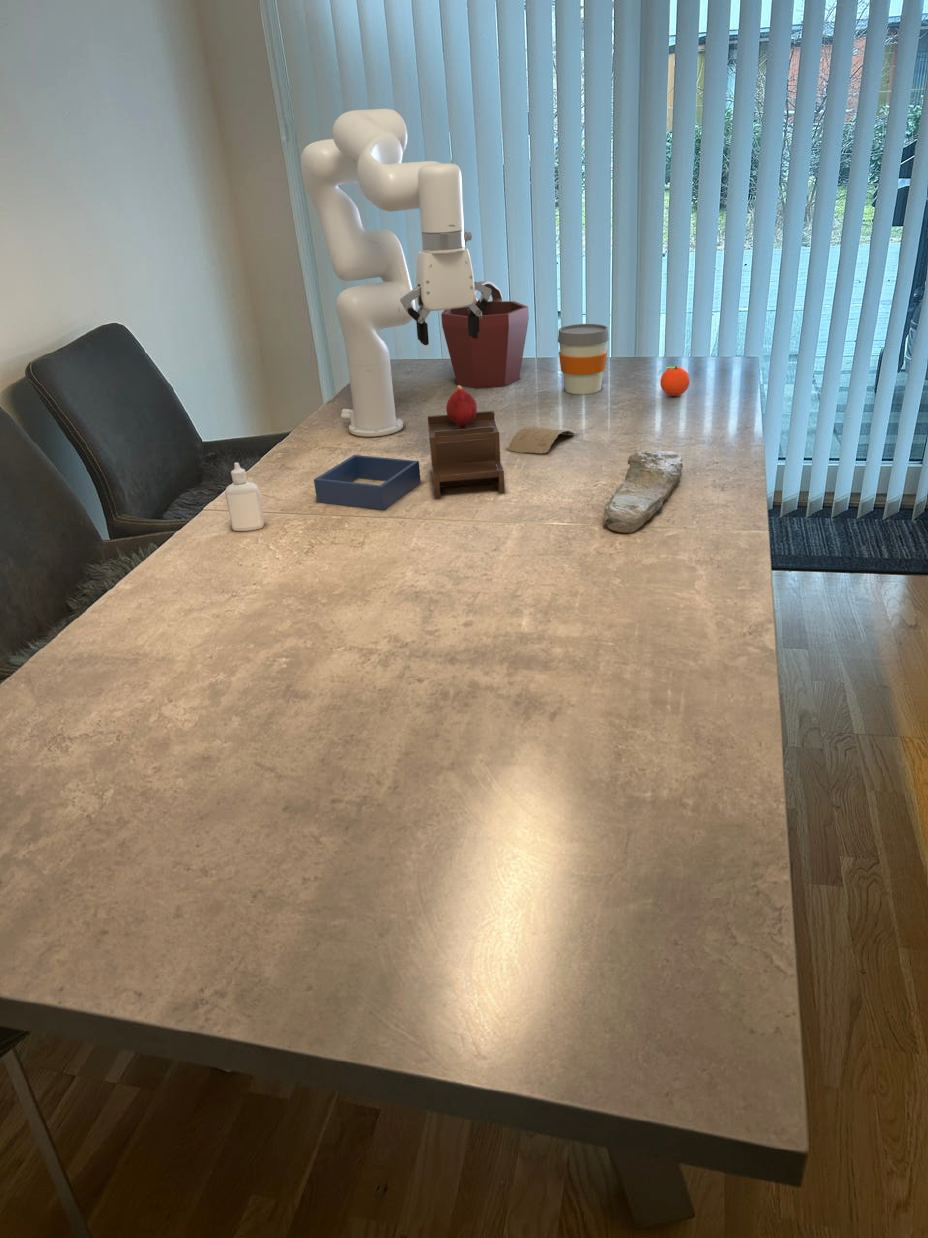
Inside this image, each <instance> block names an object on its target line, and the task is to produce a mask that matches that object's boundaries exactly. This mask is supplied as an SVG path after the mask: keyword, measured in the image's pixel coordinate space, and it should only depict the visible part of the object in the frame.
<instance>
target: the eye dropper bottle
mask: <svg viewBox="0 0 928 1238" xmlns="http://www.w3.org/2000/svg"><path fill="white" fill-rule="evenodd" d="M230 474H231V479H232V483H230V484H229V485H228V486H227V487H226V488H225V491H224V493H225V499H226V504H227V510H228V515H229V519H230V523H231V524H230V525H231V528H232V530H233V531H235V532H249V531H250V532H251V531H256V530H259V529H263V528H264V526H265V518H264V512H263V506H262V502H261V496H260V489H259V486H258V485H257V484H256V483H254V482H252V481H248V478H247V473H246V469H245V468H242V467H241V466H240V463H239V462H234V467H233V469H232V470H231V471H230Z"/></svg>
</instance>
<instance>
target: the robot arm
mask: <svg viewBox="0 0 928 1238" xmlns="http://www.w3.org/2000/svg"><path fill="white" fill-rule="evenodd" d="M408 139H409V138H408V129H407V125H406V122H405V120H404V118H403V117H402V115H401V114H399V113H398V111H396V110H395V109H392V108H375V109H373V108H372V109H354V110H349V111H345V112H344V113H342V114H341V115H339V116H338V117H337V118H336V119H335V122H334V123H333V127H332V138H328V139H320V140H317V141H314V142H311V143H310V144H307V146H305V147H304V149H303V150H302V152H301V156H300V172H301V177H302V178H301V179H302V182H303V185H304V188H305V191H306V193H307V195H308V198H309V199H310V202H311V203H312V205H313V207H314V209H315V211H316V213H317V215H318V218H319V221H320V225H321V229H322V234H323V236H324V241H325V245H326V249H327V253H328V256H329V260H330V263H331V267H332V270H333V272H334V275H335V276H336V277H337V278H338V279H339V280H341V281H345V282H352V281H361V280H367V279H375V278H381V280H382V282H376V283H375V282H374V283H366V284H360V285H355V286H354V285H353V286H351V287H348V288H346V289H343V290H342V291H341V292H340V293H339V294H338V296H337V298H336V301H335V309H336V315H337V318H338V322H339V325H340V329H341V332H342V336H343V342H344V346H345V354H346V360H347V361H346V363H347V367H348V376H349V377H348V378H349V384H350V391H351V401H352V409H351V408H342V410H341V414H340V418H341V420H344V421H345V420H346V421H347V420H349V421H350V423H349V426H348V431H349V433H350V434H352V435H353V436H356V437H364V438H372V437H374V438H375V437H381V436H382V437H383V436H388V435H391V434H395V433H397V432H399V431H401V430H402V429H403V428H404V421H403V420H402V419H400V418H399V417H397V416H396V415H397V414H396V408H395V407H396V406H395V395H394V385H393V376H392V367H391V357H390V351H389V348H388V345H387V344H386V343H385V341H384V340H383V338H381V337H380V335H379V334H378V333H377V332H378V331H379V330H380V331H381V330H383V329H389V328H394V327H399V326H404V325H407V324H409V323H411V322H412V321H413V320H414V321H415V322H416V323H415V324H416V335H417V336H416V337H417V340H418V341H420V343H421V344H422V345H423V346H429V344H430V341H429V339H430V338H429V327H428V322H426V319H427V318H428V316H429V315H430V313H431V312H438V311H444V310H447V309H455V308H463V307H466V308H467V309H468V310H469V311H470V314H468V333H469V336H471V337H472V338H474V339H476V338H478V333H479V316H480V315H481V312H482V310H483V309H484V308H485V307H486V305H487V301H489V300H490V297H491V292H492V290H491V289H490V288H488V287H486V286H484V285H481V284H479V283H477V282H478V281H475V279H474V278H475V277H474V270H473V265H472V260H471V255H470V250H469V248H467V247H466V246H467V245H466V244H467V243H466V242H468V241H472V238H473V235H472V232H470V231H469V232H467V231H466V229H465V223H464V203H463V182H462V180H463V179H462V171H461V168H460V167H459V166H458V165H457V164H455V163H450V162H449V163H447V162H446V163H445V162H444V163H443V162H440V161H436V160H423V161H411V162H402V161H403V157H404V156H403V155H404V152H405V150H406V148H407V144H408ZM353 184H359V187H360V191H361V192H362V194H363V196H364V197H365V198H366V200H368V201H369V202H370V203H372V204H373V205H374V206H375V207H377V208H378V209H380V210H382V211H385V212H399V211H409V210H417V209H419V213H420V215H419V216H420V229H421V244H422V245H421V247H422V250H419V251H417V259H416V279H415V280H416V281H415V282H416V283H415V284H416V285H415V286H416V287H414V288H413V286H412V282H411V276H410V273H409V270H408V265H407V260H406V257H405V253H404V249H403V246H402V244H401V241H400V240H399V238H398V237H397V235H396V234H395V233H394V232H392V231H391V230H389V229H374V230H366V229H365V228H364V225H363V223H362V219H361V214H360V210H359V208H358V206H357V205H356V203H355V202H354V201H353V200H352V199H351V197H350V196H349V195H348V194H347V193H346V192H345V191H343V190H342V189H341V188H340V187H339V186H340V185H353ZM475 290H478V292H480V298H479V299H478V302H477V303H476V304H475V303H474V302H475ZM416 302H417V305H418V309H417V310H416Z"/></svg>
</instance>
